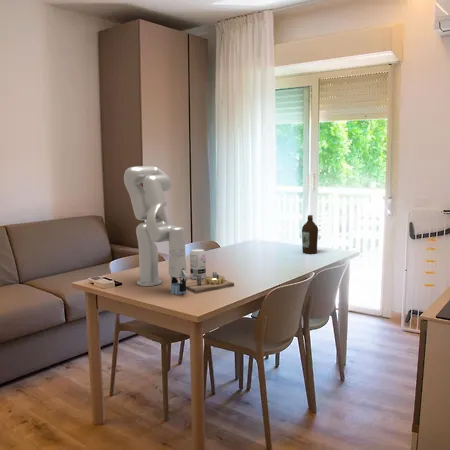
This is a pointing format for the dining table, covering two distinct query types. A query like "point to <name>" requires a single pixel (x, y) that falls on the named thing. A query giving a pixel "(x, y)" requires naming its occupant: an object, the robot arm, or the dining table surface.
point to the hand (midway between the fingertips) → (178, 289)
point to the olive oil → (309, 236)
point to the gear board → (205, 285)
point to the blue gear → (176, 289)
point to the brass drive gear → (214, 279)
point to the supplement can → (197, 263)
